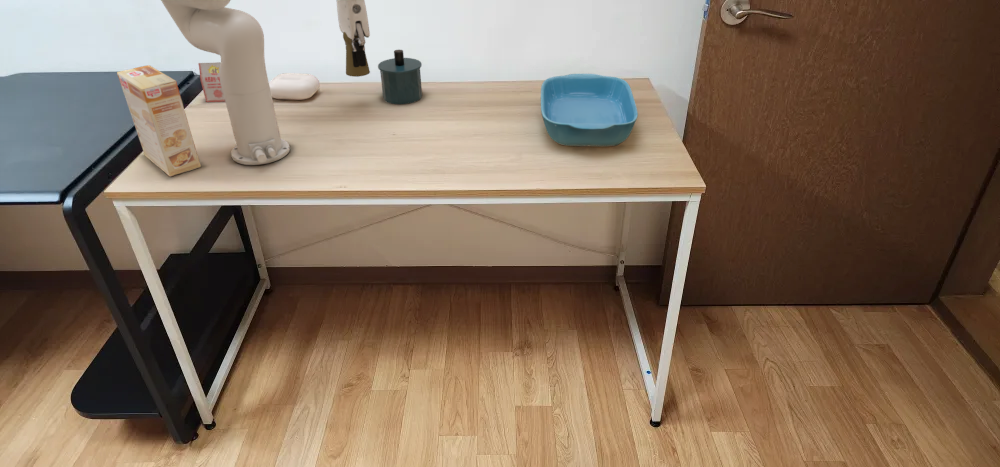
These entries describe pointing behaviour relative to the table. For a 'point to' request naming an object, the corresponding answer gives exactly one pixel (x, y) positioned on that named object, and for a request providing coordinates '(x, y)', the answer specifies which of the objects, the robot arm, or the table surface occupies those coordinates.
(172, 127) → the coffeecake box
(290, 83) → the earbud case
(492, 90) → the table surface
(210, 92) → the tea bag
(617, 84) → the casserole dish
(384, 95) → the pot
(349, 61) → the pepper mill
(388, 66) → the pot lid
